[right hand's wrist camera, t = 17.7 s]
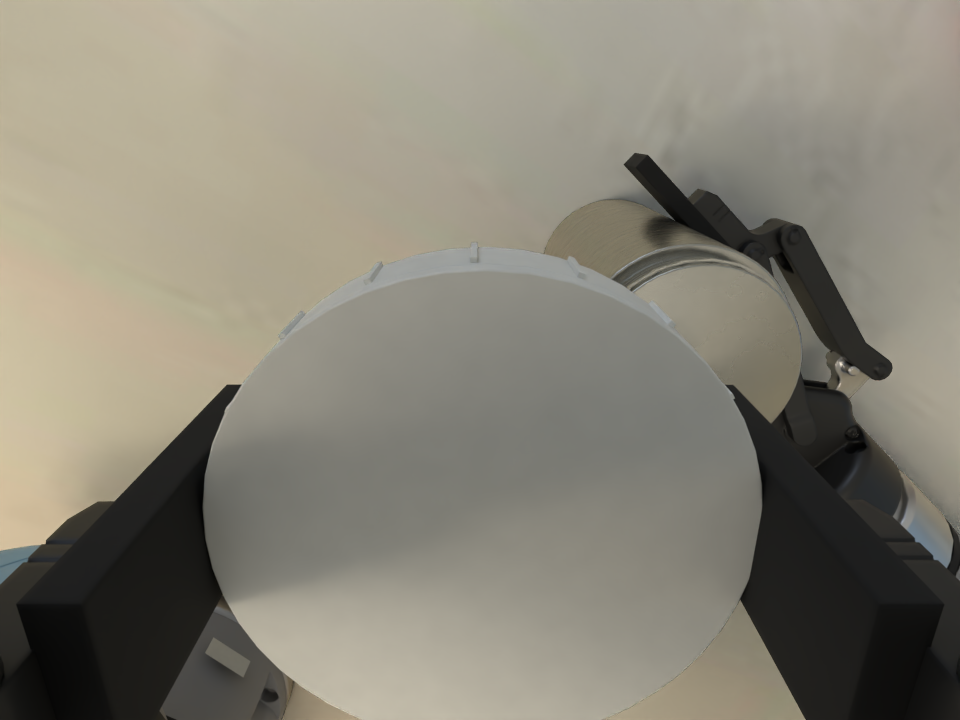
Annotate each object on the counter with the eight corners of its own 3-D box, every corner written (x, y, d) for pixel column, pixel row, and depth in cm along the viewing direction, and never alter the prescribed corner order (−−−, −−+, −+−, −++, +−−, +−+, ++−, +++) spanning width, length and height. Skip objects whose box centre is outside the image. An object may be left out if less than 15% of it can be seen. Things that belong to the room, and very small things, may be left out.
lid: (148, 522, 12) (99, 583, 11) (436, 121, 10) (427, 121, 8) (513, 735, 14) (517, 813, 13) (831, 448, 12) (887, 500, 10)
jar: (680, 193, 36) (828, 241, 21) (676, 329, 39) (804, 464, 23) (537, 204, 37) (575, 261, 21) (543, 339, 39) (581, 477, 24)
